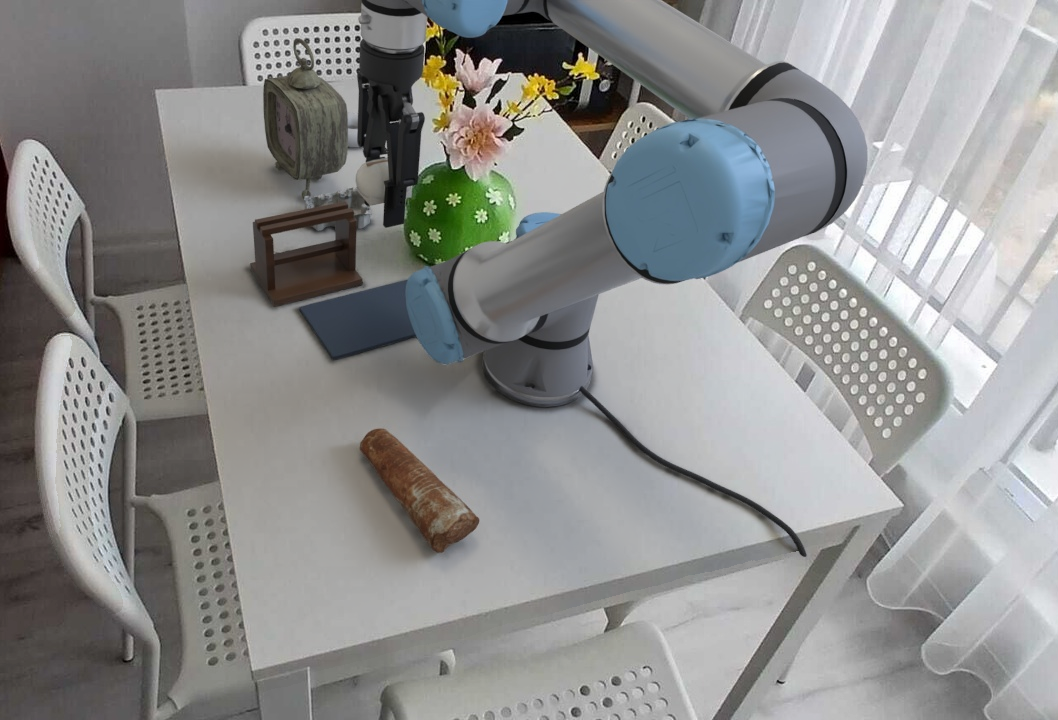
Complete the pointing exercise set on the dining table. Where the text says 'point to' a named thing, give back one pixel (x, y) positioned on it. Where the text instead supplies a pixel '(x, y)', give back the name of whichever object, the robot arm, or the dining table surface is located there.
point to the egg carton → (349, 196)
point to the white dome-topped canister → (374, 181)
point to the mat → (361, 320)
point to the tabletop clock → (305, 123)
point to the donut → (352, 129)
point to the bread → (419, 491)
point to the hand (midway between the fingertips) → (383, 213)
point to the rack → (306, 255)
